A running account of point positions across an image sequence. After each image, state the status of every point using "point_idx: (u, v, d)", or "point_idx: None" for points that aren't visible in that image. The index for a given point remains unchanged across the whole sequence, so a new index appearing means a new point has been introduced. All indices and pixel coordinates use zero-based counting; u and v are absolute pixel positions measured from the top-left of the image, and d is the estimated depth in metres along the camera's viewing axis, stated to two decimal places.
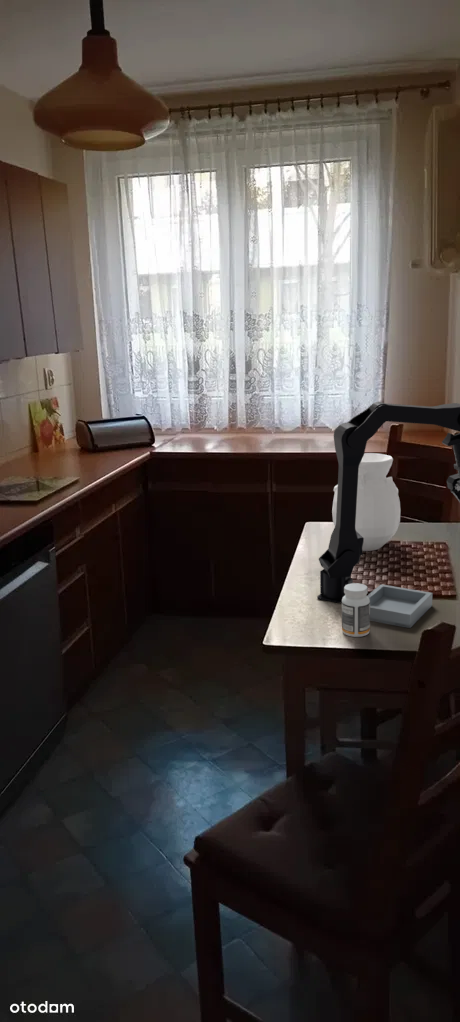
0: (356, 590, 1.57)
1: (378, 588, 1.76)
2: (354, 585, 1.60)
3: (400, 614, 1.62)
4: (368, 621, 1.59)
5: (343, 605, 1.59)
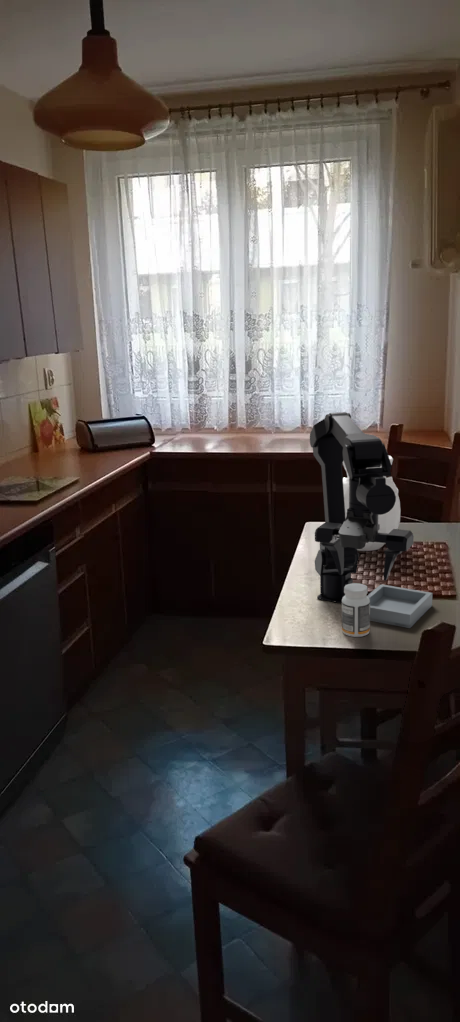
0: (356, 590, 1.57)
1: (378, 588, 1.76)
2: (354, 585, 1.60)
3: (400, 614, 1.62)
4: (368, 621, 1.59)
5: (343, 605, 1.59)
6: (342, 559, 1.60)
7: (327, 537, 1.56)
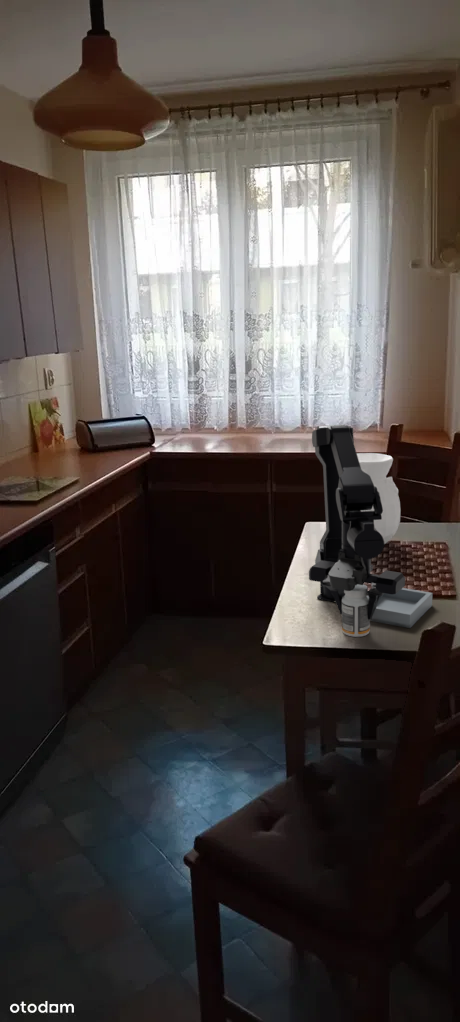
0: (356, 590, 1.57)
1: None
2: None
3: (400, 614, 1.62)
4: (368, 621, 1.59)
5: (343, 605, 1.59)
6: None
7: (320, 576, 1.59)
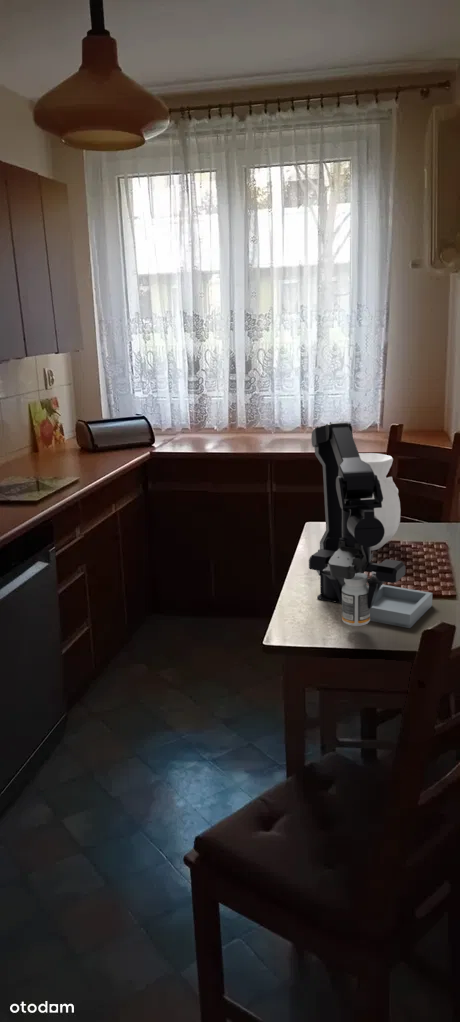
0: (356, 579, 1.56)
1: None
2: None
3: (400, 614, 1.62)
4: (368, 610, 1.58)
5: (343, 594, 1.58)
6: None
7: (320, 565, 1.58)
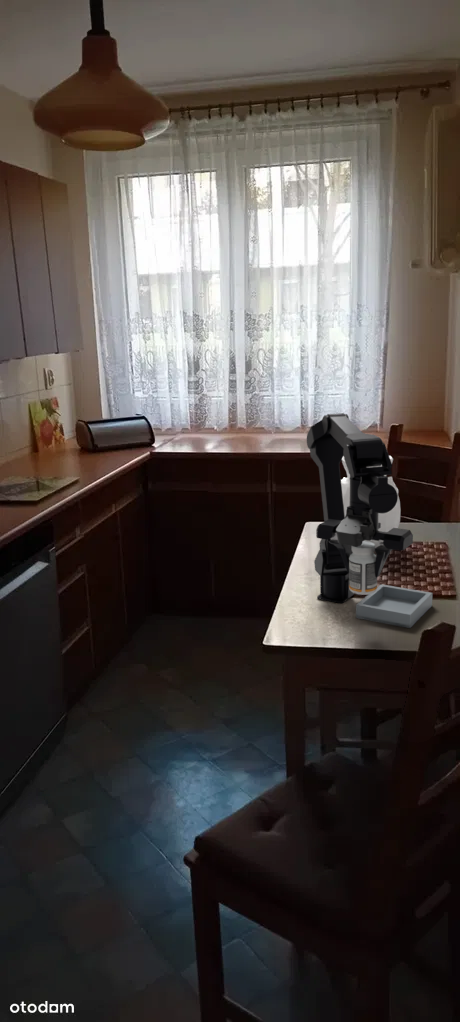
0: (363, 547, 1.56)
1: (378, 588, 1.76)
2: None
3: (400, 614, 1.62)
4: (375, 579, 1.58)
5: (350, 562, 1.58)
6: None
7: (328, 534, 1.59)
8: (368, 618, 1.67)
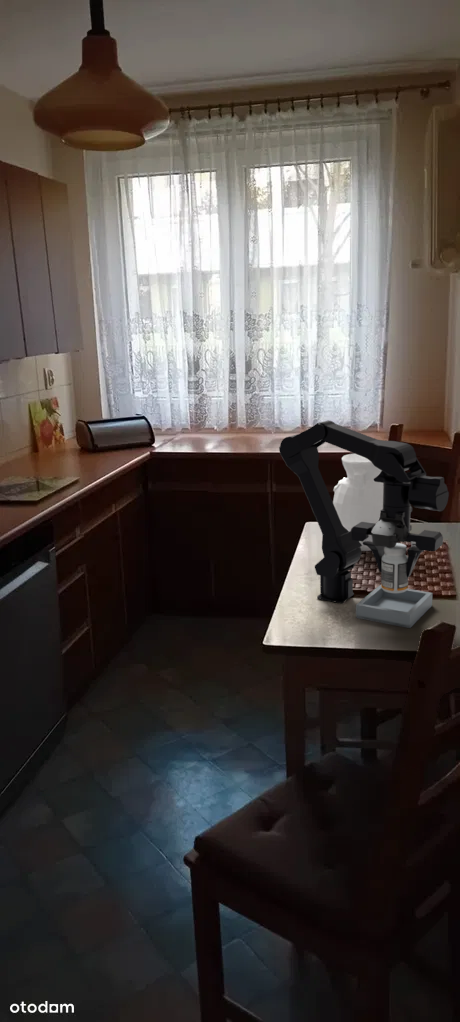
0: (396, 548, 1.65)
1: (378, 588, 1.76)
2: None
3: (400, 614, 1.62)
4: (407, 578, 1.67)
5: (383, 563, 1.67)
6: None
7: (361, 536, 1.67)
8: (368, 618, 1.67)
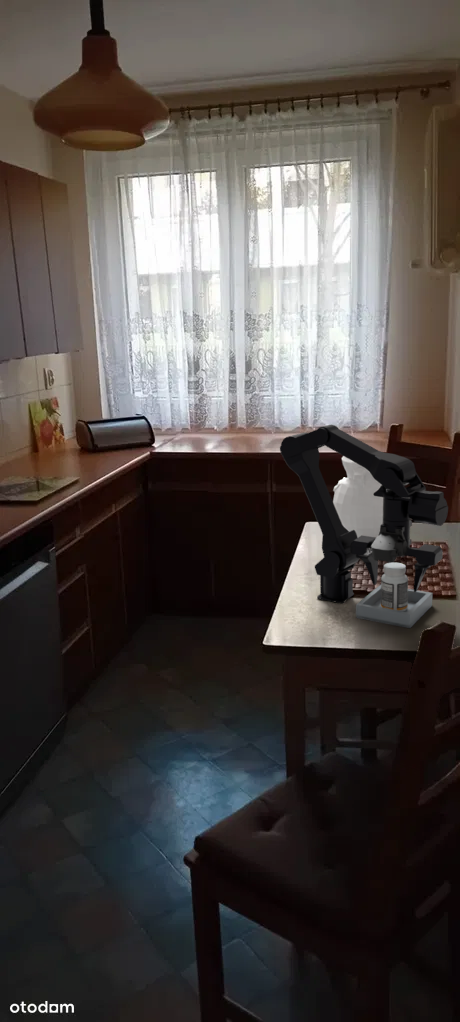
0: (395, 568, 1.66)
1: (378, 588, 1.76)
2: (393, 564, 1.69)
3: (400, 614, 1.62)
4: (406, 598, 1.68)
5: (382, 582, 1.68)
6: (376, 570, 1.72)
7: (361, 550, 1.68)
8: (368, 618, 1.67)
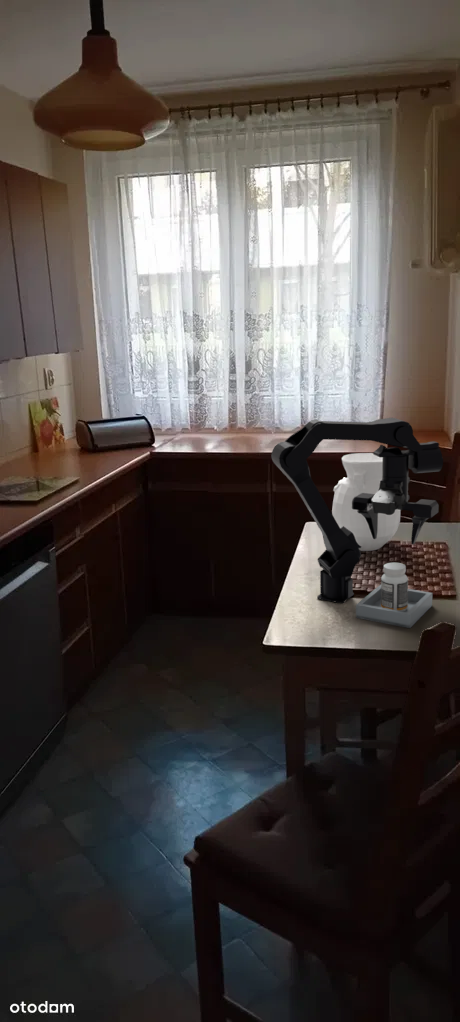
0: (395, 568, 1.66)
1: (378, 588, 1.76)
2: (393, 564, 1.69)
3: (400, 614, 1.62)
4: (406, 598, 1.68)
5: (382, 582, 1.68)
6: (376, 525, 1.82)
7: (362, 505, 1.79)
8: (368, 618, 1.67)
